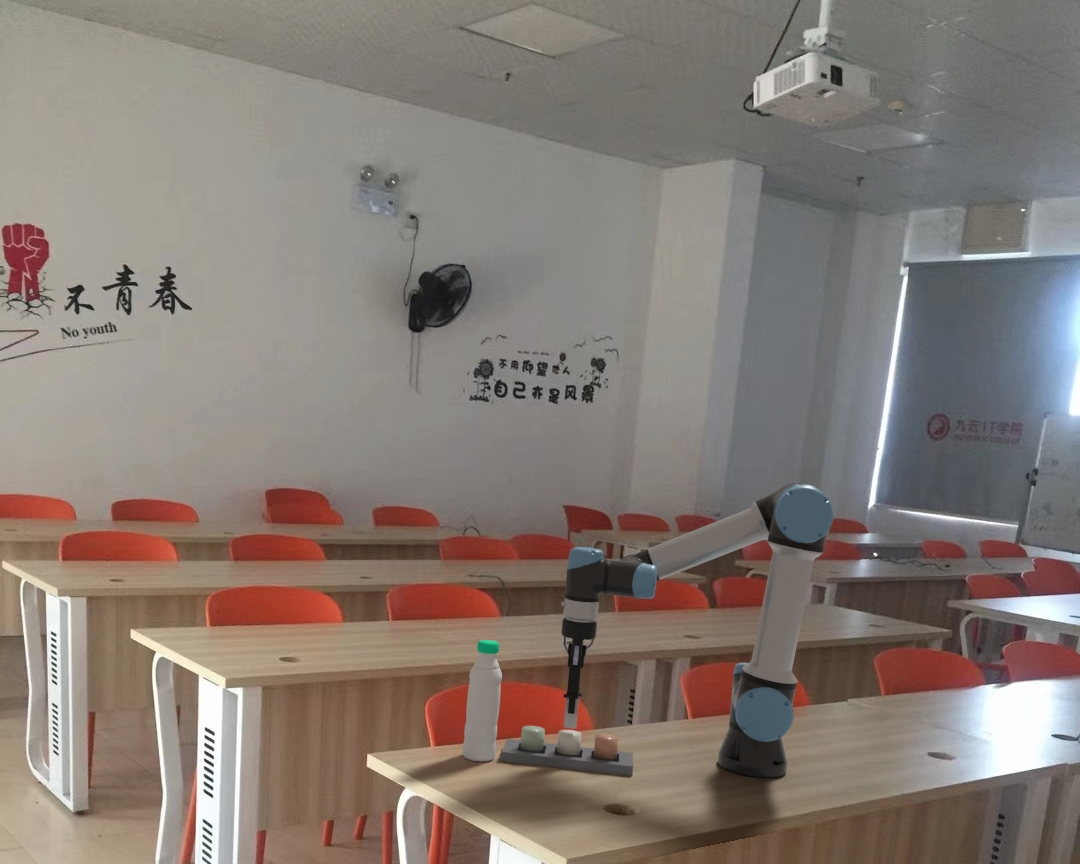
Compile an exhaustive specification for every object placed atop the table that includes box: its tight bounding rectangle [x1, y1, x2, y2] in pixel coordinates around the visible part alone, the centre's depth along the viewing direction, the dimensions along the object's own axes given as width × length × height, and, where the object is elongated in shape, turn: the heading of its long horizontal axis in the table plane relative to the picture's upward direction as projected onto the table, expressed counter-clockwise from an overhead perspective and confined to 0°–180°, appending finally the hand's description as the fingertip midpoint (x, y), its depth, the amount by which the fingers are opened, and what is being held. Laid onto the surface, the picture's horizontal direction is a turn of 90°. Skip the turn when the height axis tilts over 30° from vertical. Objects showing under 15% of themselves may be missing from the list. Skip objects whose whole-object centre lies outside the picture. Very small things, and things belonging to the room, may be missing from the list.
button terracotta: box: [593, 733, 619, 759], centre depth 229 cm, size 5×5×4 cm
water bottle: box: [462, 639, 503, 763], centre depth 228 cm, size 7×7×25 cm
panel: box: [500, 738, 634, 777], centre depth 230 cm, size 28×10×2 cm, turn 85°
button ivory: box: [557, 729, 582, 755], centre depth 230 cm, size 5×5×4 cm
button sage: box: [520, 725, 546, 751], centre depth 231 cm, size 5×5×4 cm
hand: (569, 727), depth 230 cm, fingers closed
